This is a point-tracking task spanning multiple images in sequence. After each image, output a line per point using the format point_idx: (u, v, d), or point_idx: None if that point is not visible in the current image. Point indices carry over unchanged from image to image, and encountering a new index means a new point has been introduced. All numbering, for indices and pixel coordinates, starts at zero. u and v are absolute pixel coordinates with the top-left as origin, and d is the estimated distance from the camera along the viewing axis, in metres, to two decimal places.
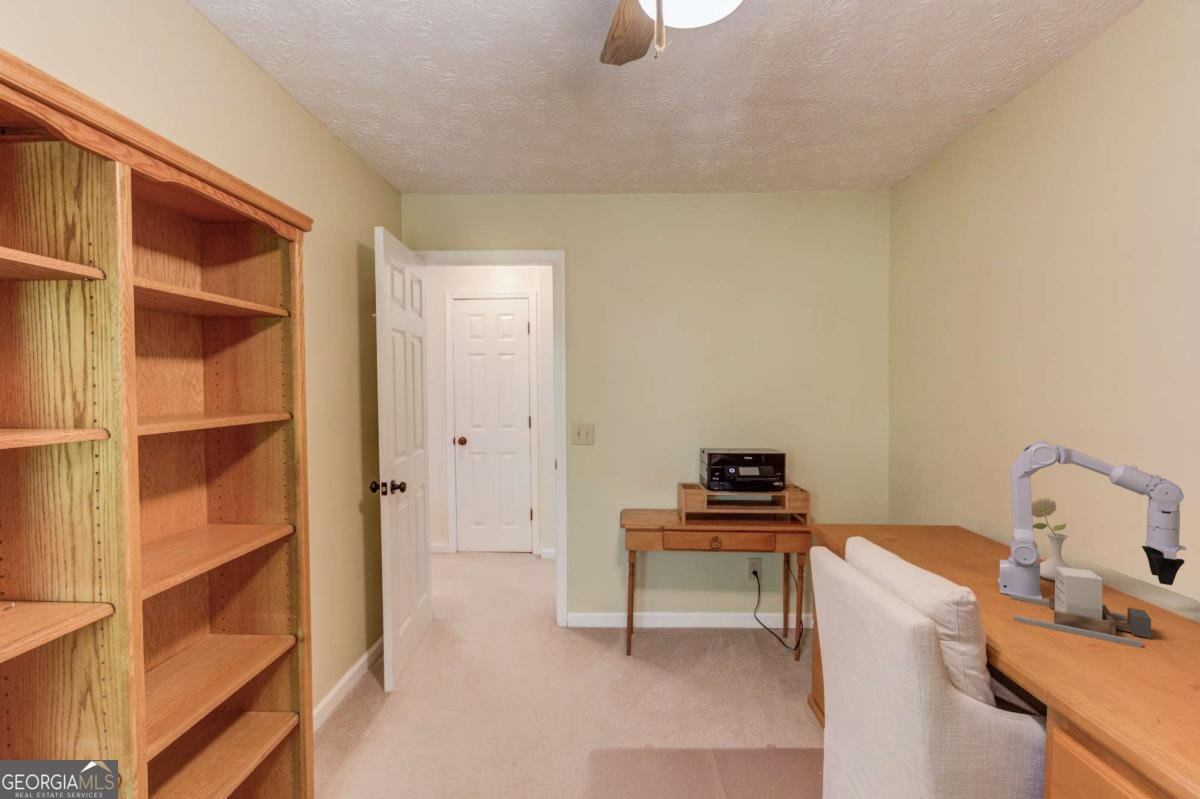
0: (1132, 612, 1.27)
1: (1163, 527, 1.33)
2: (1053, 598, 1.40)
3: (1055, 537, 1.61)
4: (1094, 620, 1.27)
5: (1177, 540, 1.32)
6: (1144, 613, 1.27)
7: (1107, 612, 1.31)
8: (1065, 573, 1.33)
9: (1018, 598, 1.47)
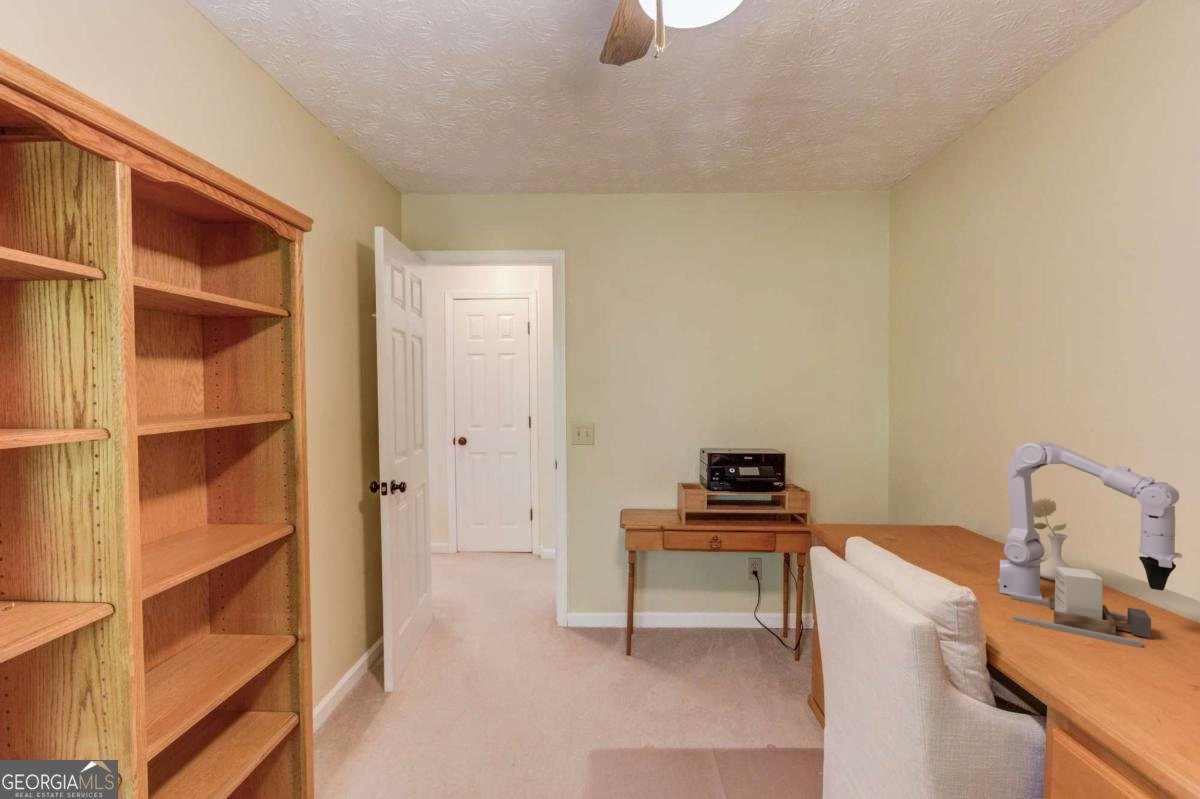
0: (1132, 612, 1.27)
1: (1150, 532, 1.26)
2: (1053, 598, 1.40)
3: (1055, 537, 1.61)
4: (1094, 620, 1.27)
5: (1172, 547, 1.25)
6: (1144, 613, 1.27)
7: (1107, 612, 1.31)
8: (1065, 573, 1.33)
9: (1018, 598, 1.47)
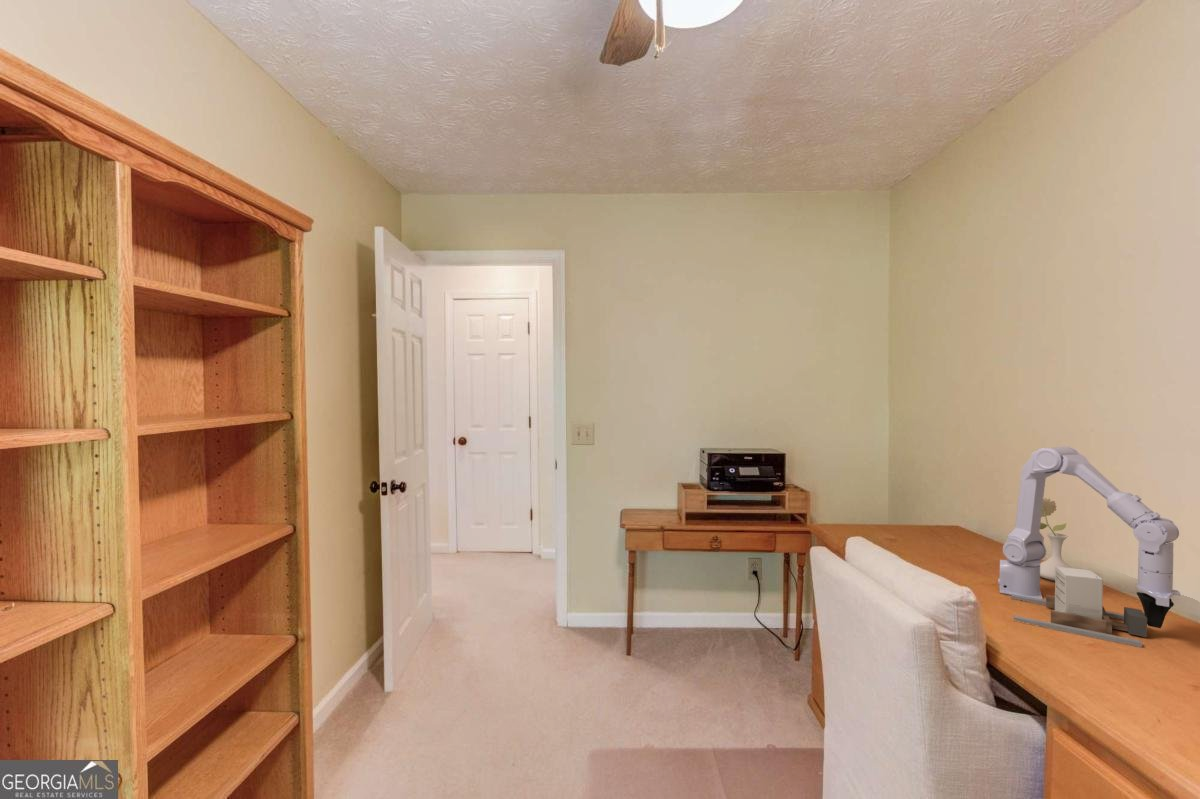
0: (1128, 611, 1.28)
1: (1146, 568, 1.25)
2: (1050, 597, 1.41)
3: (1055, 537, 1.61)
4: (1090, 619, 1.27)
5: (1170, 585, 1.22)
6: (1141, 613, 1.27)
7: (1104, 611, 1.31)
8: (1065, 573, 1.33)
9: (1018, 598, 1.47)
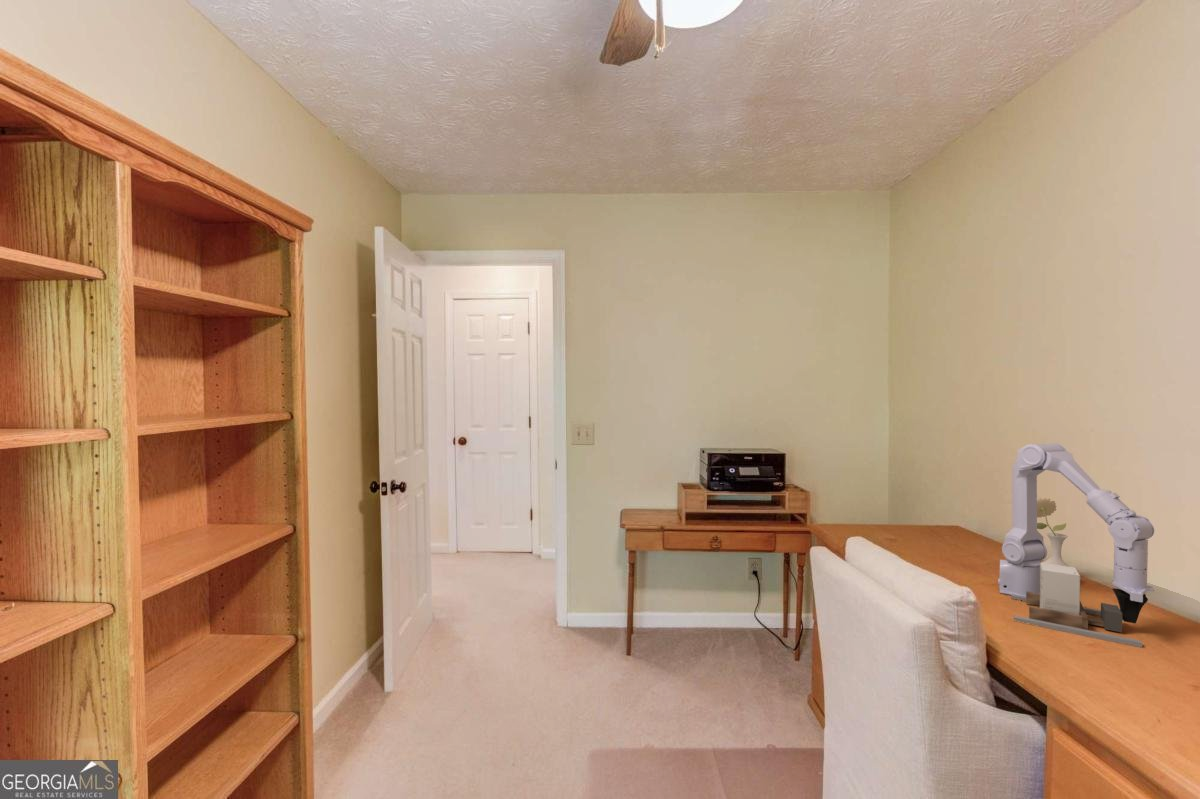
0: (1105, 607, 1.30)
1: (1120, 564, 1.27)
2: (1030, 594, 1.43)
3: (1055, 537, 1.61)
4: (1067, 615, 1.30)
5: (1145, 581, 1.25)
6: (1117, 608, 1.29)
7: (1081, 607, 1.34)
8: (1044, 568, 1.36)
9: (1018, 598, 1.47)
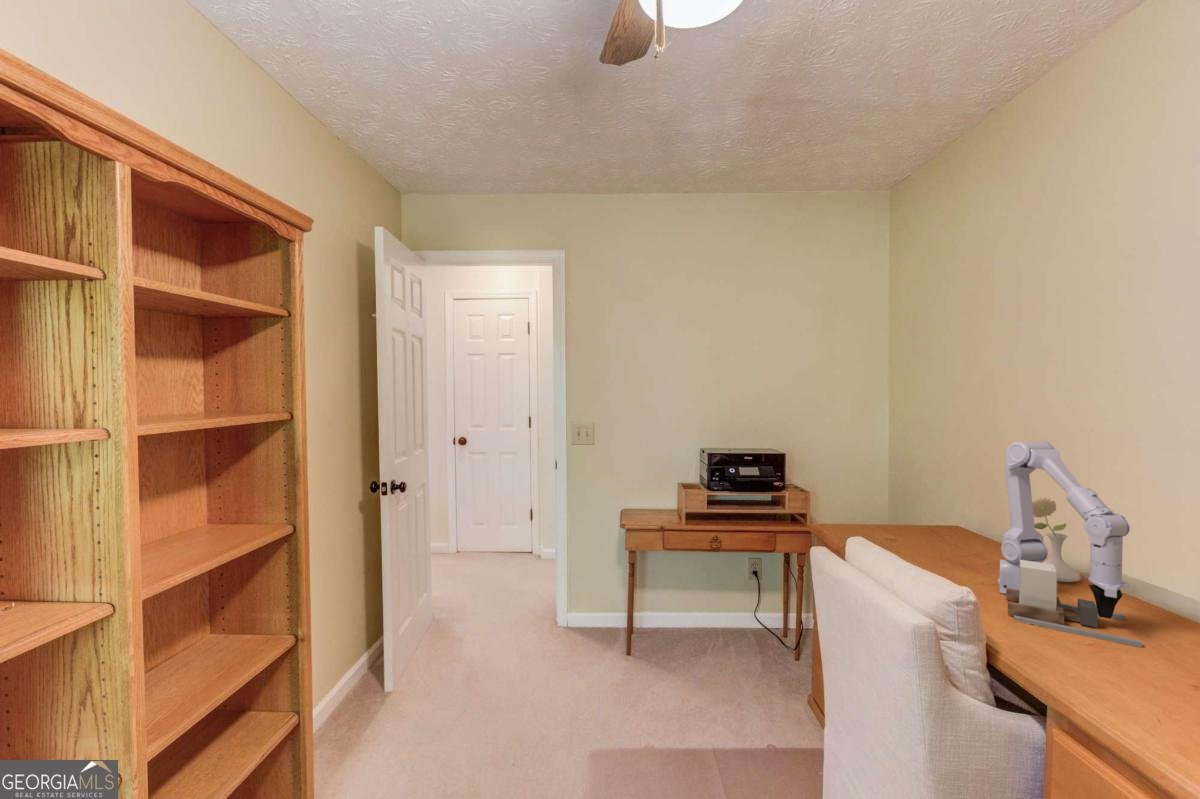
0: (1081, 603, 1.33)
1: (1094, 560, 1.30)
2: (1010, 590, 1.46)
3: (1055, 537, 1.61)
4: (1044, 611, 1.32)
5: (1119, 577, 1.28)
6: (1093, 604, 1.32)
7: (1058, 603, 1.36)
8: (1022, 565, 1.39)
9: None
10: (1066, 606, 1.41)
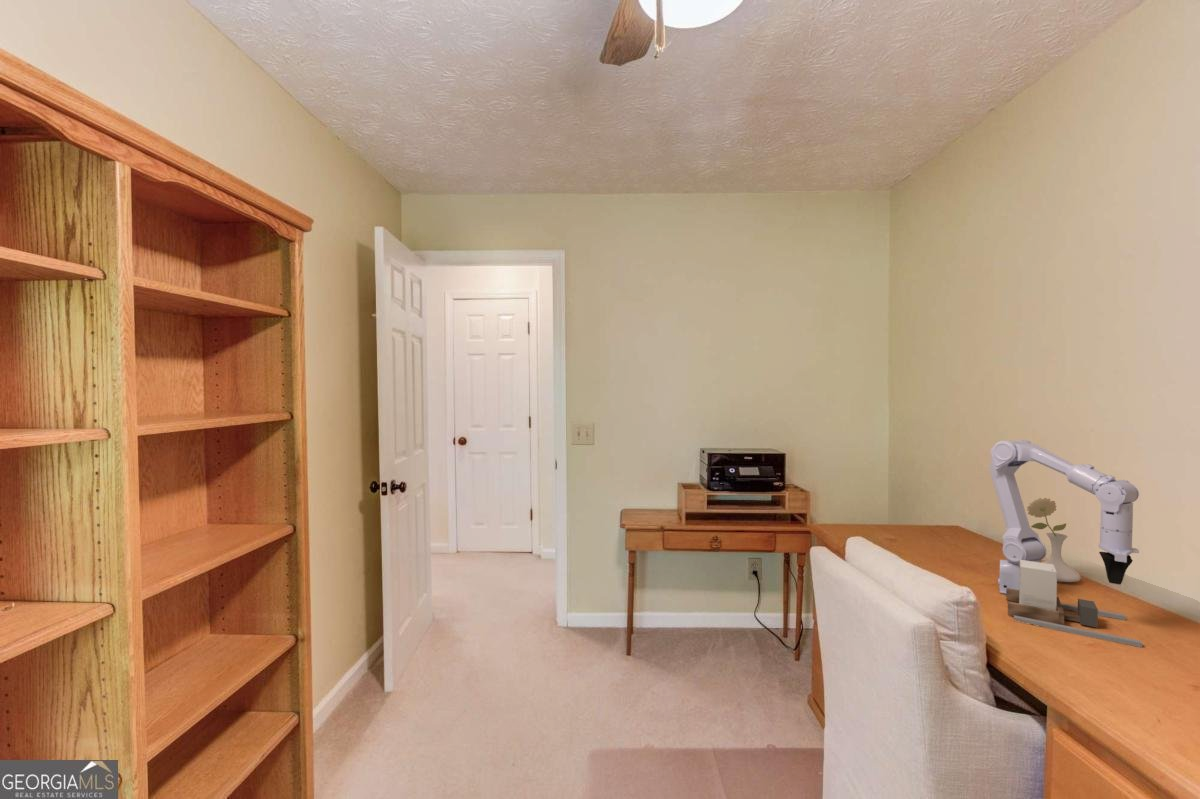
0: (1081, 603, 1.33)
1: (1107, 528, 1.31)
2: (1010, 590, 1.46)
3: (1055, 537, 1.61)
4: (1044, 611, 1.32)
5: (1129, 543, 1.29)
6: (1093, 604, 1.32)
7: (1058, 603, 1.36)
8: (1022, 565, 1.39)
9: None
10: (1066, 606, 1.41)
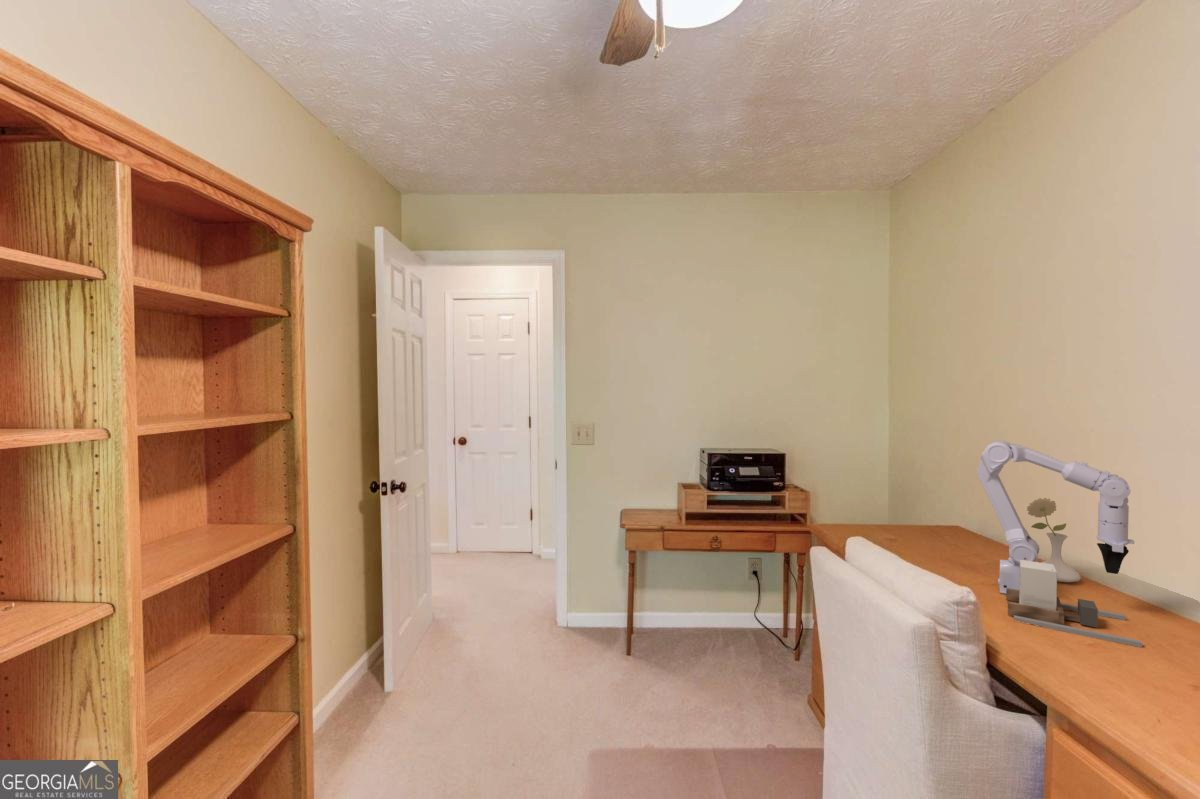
0: (1081, 603, 1.33)
1: (1111, 521, 1.37)
2: (1010, 590, 1.46)
3: (1055, 537, 1.61)
4: (1044, 611, 1.32)
5: (1126, 534, 1.36)
6: (1093, 604, 1.32)
7: (1058, 603, 1.36)
8: (1022, 565, 1.39)
9: None
10: (1066, 606, 1.41)
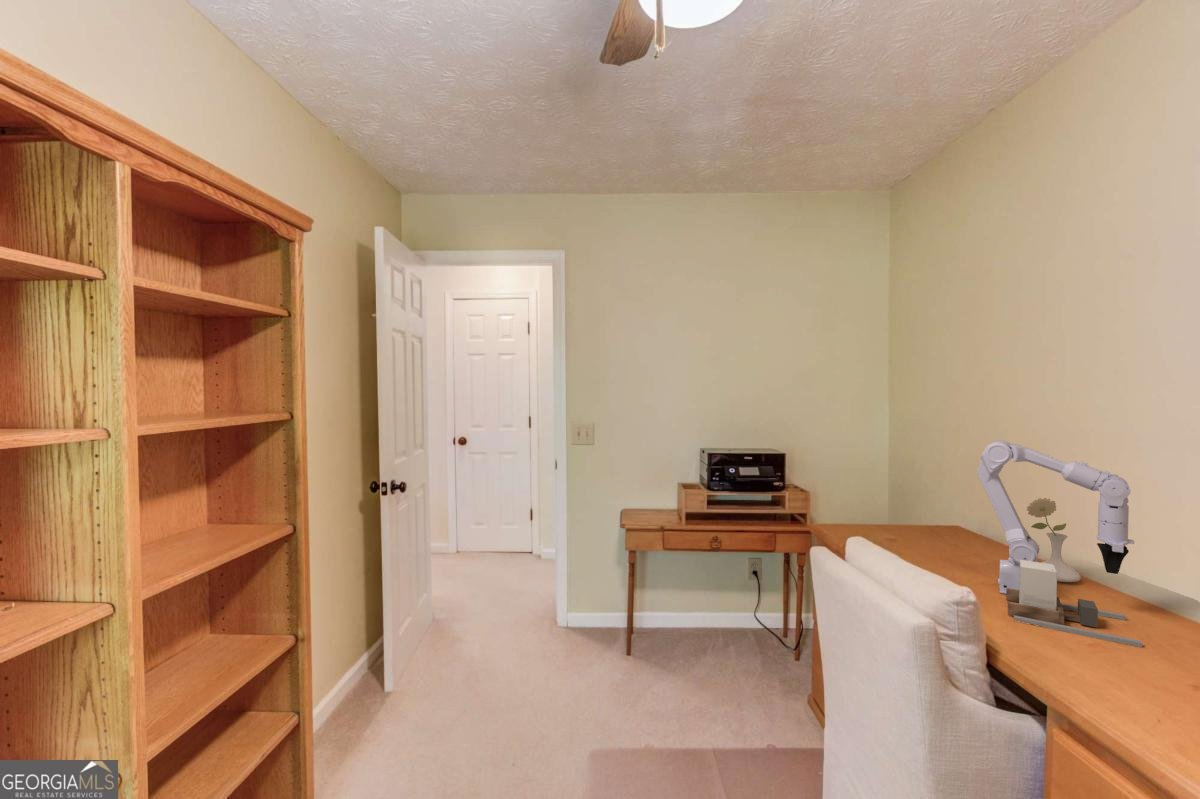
0: (1081, 603, 1.33)
1: (1111, 521, 1.37)
2: (1010, 590, 1.46)
3: (1055, 537, 1.61)
4: (1044, 611, 1.32)
5: (1126, 534, 1.36)
6: (1093, 604, 1.32)
7: (1058, 603, 1.36)
8: (1022, 565, 1.39)
9: None
10: (1066, 606, 1.41)
